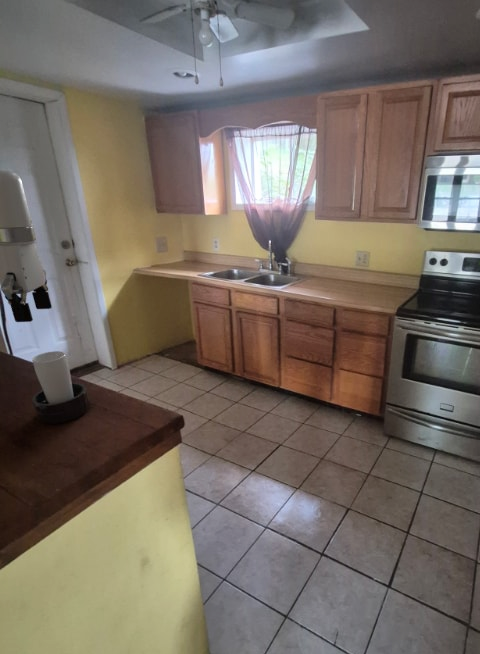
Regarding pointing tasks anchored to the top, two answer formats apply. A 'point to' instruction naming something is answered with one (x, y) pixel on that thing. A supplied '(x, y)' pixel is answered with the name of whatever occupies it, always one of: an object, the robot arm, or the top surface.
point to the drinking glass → (54, 376)
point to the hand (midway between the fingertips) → (34, 314)
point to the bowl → (62, 406)
